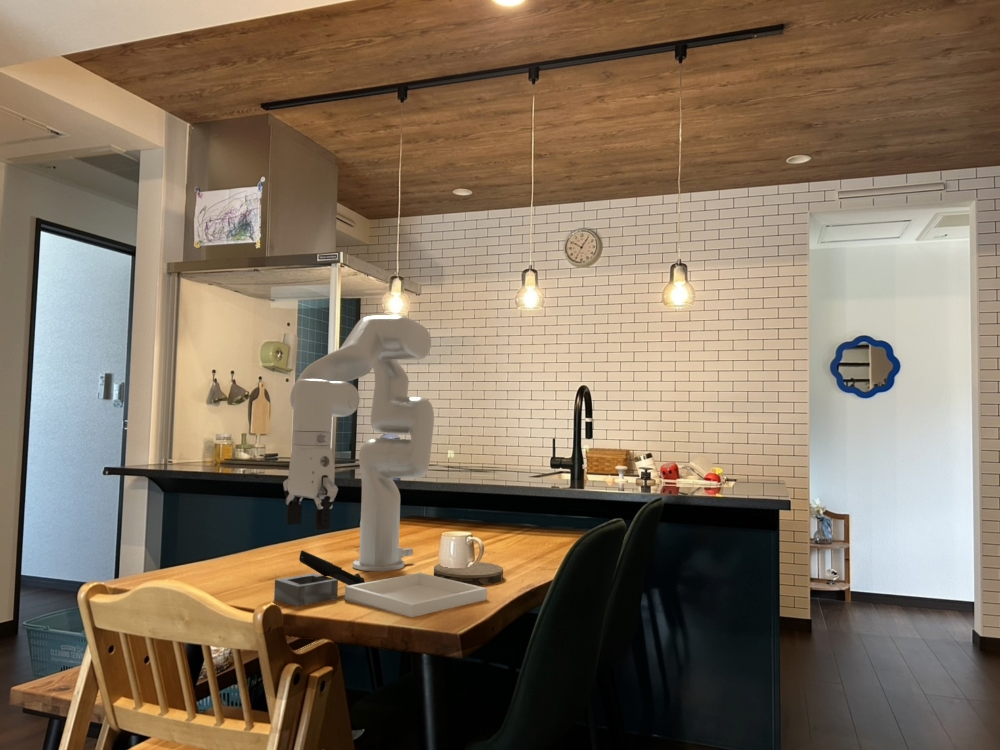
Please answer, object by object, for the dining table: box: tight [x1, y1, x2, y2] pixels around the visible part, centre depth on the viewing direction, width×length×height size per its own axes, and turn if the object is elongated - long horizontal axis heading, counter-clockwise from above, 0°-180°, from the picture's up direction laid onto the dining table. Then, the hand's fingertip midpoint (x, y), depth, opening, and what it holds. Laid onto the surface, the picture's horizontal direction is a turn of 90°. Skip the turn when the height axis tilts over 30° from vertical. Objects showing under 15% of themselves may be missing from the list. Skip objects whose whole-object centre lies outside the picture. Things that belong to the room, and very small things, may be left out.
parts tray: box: [344, 572, 488, 618], centre depth 153 cm, size 20×20×3 cm
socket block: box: [273, 572, 339, 607], centre depth 153 cm, size 9×8×4 cm
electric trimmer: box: [299, 550, 366, 586], centre depth 157 cm, size 4×16×3 cm, turn 125°
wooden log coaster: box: [433, 561, 504, 586], centre depth 175 cm, size 16×16×3 cm
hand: (307, 526), depth 153 cm, fingers open, 9 cm apart
